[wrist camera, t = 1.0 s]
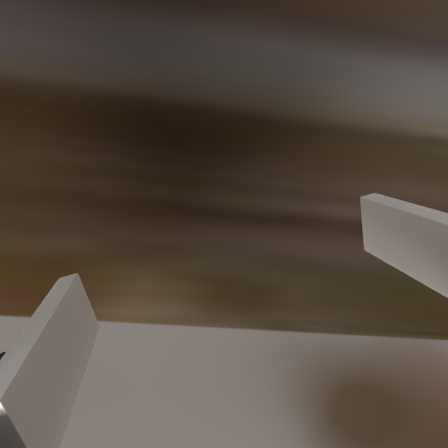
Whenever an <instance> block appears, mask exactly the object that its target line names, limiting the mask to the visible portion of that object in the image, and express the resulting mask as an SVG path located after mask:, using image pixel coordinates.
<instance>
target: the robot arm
mask: <svg viewBox="0 0 448 448" xmlns="http://www.w3.org/2000/svg"><path fill="white" fill-rule="evenodd" d="M360 201H361V214H362V227H363V240H364V250H366V251H367V252H369V253H371V254H373V255H374V256H376V257H378V258H379V259H381V260H383V261H385V262H386V263H388V264H390V265H392V266H393V267H395V268H397V269H399V270H400V271H402V272H404V273H406V274H407V275H409V276H411V277H412V278H414V279H416V280H418V281H419V282H421V283H423V284H425V285H426V286H428V287H430V288H432V289H433V290H435V291H437V292H439V293H440V294H442V295H444V296H446V297H447V298H448V213H445V212H441V211H437V210H434V209H430V208H427V207H423V206H420V205H416V204H412V203H409V202H405V201H402V200H398V199H394V198H391V197H387V196H384V195H380V194H376V193H373V194H370V195H366V196H362V197H360ZM98 330H99V324H98V322H97V319H96V317H95V314H94V312H93V309H92V307H91V304H90V302H89V299H88V297H87V295H86V292H85V290H84V287H83V285H82V282H81V280H80V277H79V275H78V273H76V274H73V275H69V276H65V277H61V278H59V279H58V281H57V282H56V283H55V285H54V286H53V288H52V289H51V290H50V292H49V293H48V294H47V296H46V297H45V299H44V300H43V301H42V303H41V304H40V306H39V307H38V308H37V310H36V311H35V312H34V314H33V315H32V317H31V318H30V319H29V321H28V322H27V324H26V325H25V326H24V328H23V329H22V331H21V332H20V334H19V335H18V336H17V337H16V339H15V340H14V342H13V343H12V345H11V346H10V348H9V349H8V350H7V351H6V352H3V353H1V354H0V448H60V445H61V442H62V439H63V436H64V433H65V430H66V427H67V424H68V421H69V418H70V415H71V412H72V409H73V406H74V403H75V400H76V397H77V394H78V391H79V388H80V385H81V382H82V378H83V376H84V373H85V370H86V366H87V363H88V360H89V357H90V354H91V351H92V348H93V345H94V342H95V339H96V336H97V333H98Z"/></svg>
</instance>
